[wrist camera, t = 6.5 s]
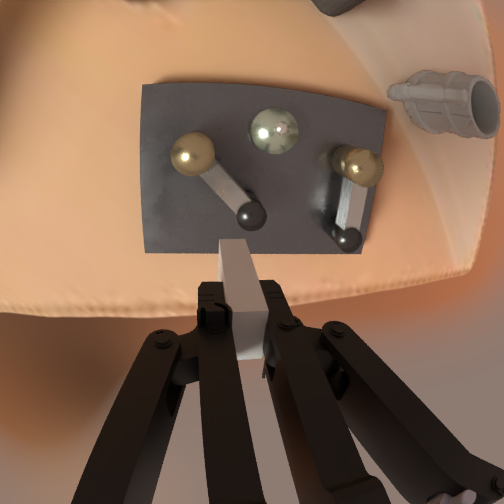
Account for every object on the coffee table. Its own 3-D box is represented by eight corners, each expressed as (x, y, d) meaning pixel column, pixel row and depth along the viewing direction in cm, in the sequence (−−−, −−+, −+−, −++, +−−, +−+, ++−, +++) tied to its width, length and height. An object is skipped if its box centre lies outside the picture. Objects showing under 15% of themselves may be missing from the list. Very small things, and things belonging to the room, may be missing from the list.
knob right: (320, 237, 28) (335, 255, 24) (334, 142, 24) (354, 147, 20) (347, 238, 29) (365, 255, 25) (363, 147, 24) (385, 153, 21)
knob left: (241, 224, 26) (247, 242, 23) (169, 149, 22) (161, 154, 19) (268, 202, 26) (278, 217, 22) (197, 123, 22) (194, 124, 18)
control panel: (148, 244, 28) (141, 261, 25) (147, 87, 21) (137, 82, 18) (353, 246, 32) (368, 261, 28) (376, 110, 25) (396, 110, 21)
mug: (444, 134, 27) (518, 155, 16) (371, 126, 26) (451, 140, 15) (443, 78, 23) (517, 82, 13) (368, 59, 22) (446, 43, 12)
